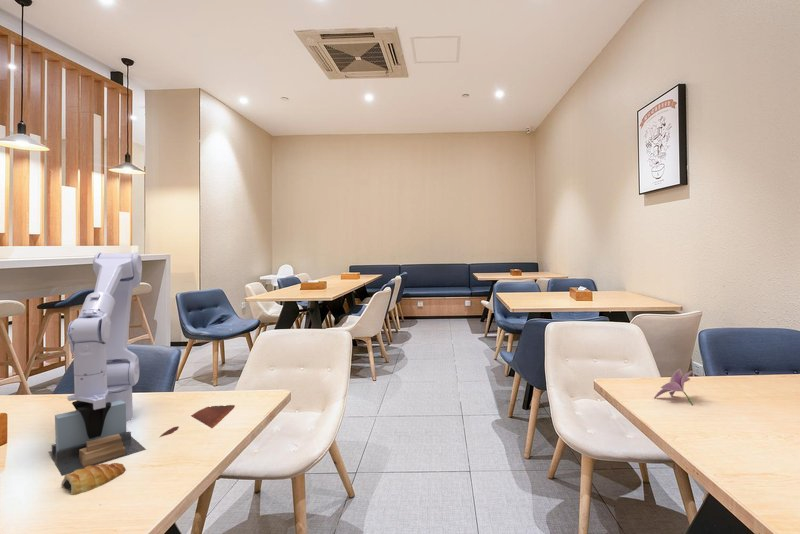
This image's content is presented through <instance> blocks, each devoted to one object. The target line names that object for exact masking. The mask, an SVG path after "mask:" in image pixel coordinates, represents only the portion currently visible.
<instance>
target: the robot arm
mask: <svg viewBox="0 0 800 534" xmlns="http://www.w3.org/2000/svg"><path fill="white" fill-rule="evenodd" d="M92 259H93V260H92V269H93V273H94V275H95V277H96V283H95V287H94V291H93V292H91V293H89V294H87V296H86V297H85V299H84V302H83V303H82V306H81V309H80V310H79V311H80V312H79V313H78V316H77V318H75V319H74V320H72V321H70V322H69V324H68V326H67V333H66V337H67V341H68V344H69V350H70V354H73V357H72V358H73V379H74V380H73V381H74V384H73V385H74V388H73V389H74V394H71V395H68V396H67V401H69V402H71V404H72V406H73V408H74V409H75V411H76V410H78V411H79V412H80V413H81V415H82V417H83V419H84V422H85V426H86V431H87V435H88V437H89V439H92V438H95V437H99V436H101V434H102V430H103V426H104V421H105V418H106V415H107V413H108V411H109V409H110V408H111V403H112V402H116V401H120V400H122V401H124V402H125V403H126V423H127V422H128V421H130V420H132V419H133V418H134V416H133V415H134V414H133V412H134V411H133V386H135V385H136V384H137V383H139V379H140V364H139V363H140V361H139V360H140V359H139V357H138V355H137V354H136V353H134V352H133V351H131V350H129V349H128V345H129V331H130V320H131V311H132V310H131V307H132V299H133V297H132V296H133V292H134V289H135V288H137V287H139V286H140V285H141V281H142V276H143V275H142V273H143V262H142V261H143V260H142V256H141V254H139V252H128V253H127V252H125V253H123V252H119V253H117V252H114V253H111V252H109V253H107V252H106V253H105V252H104V253H103V252H97V253H95V255H94V256H93V258H92Z"/></svg>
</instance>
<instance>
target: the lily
mask: <svg viewBox="0 0 800 534" xmlns="http://www.w3.org/2000/svg"><path fill="white" fill-rule="evenodd" d="M693 372H695V369H692V370H689V371H688V372H687V373H685V374H683V372H682V369H680V368H678V369H677V370H676V371H675V372H674V373H672V375H671V377H670V380H669V382H667V383H664V384H663V385H662V386H660V388H661V390H659V391H658V392H657V393H656V395H655V396H654V397H653V399H656V398H658V397H659V396H661V395H663V394H665V393H668V392H669V393H668V394H669V395H670V396H671V397H673V396H674V394H675V393H676V392H682V393H683V394H684V395H685V397H686V398H687V400H688V402H689V403H690V404H691V406H693V403H692V401H691V399H690V397H689V396H688V395H687V393H686V392H685V390H684V387H685V383H686V382H690V381H691V378H690V377H689V376H690V375H691V374H692V373H693Z"/></svg>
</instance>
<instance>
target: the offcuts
mask: <svg viewBox="0 0 800 534" xmlns="http://www.w3.org/2000/svg"><path fill="white" fill-rule="evenodd" d="M124 454H126V450H125V447H124V446H123V442H122V438H121V436H120V435H119V434H115V435H111V436H107V437H103V438H99V439H95V440H91V441H87V442H86V448H83V449H80V450H79V461H80V462H81V464H82V465H83V466H84V467H85V466H88V465H91V464H95V463H98V462H101V461H104V460H108V459H111V458H114V457H117V456H120V455H124Z"/></svg>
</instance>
